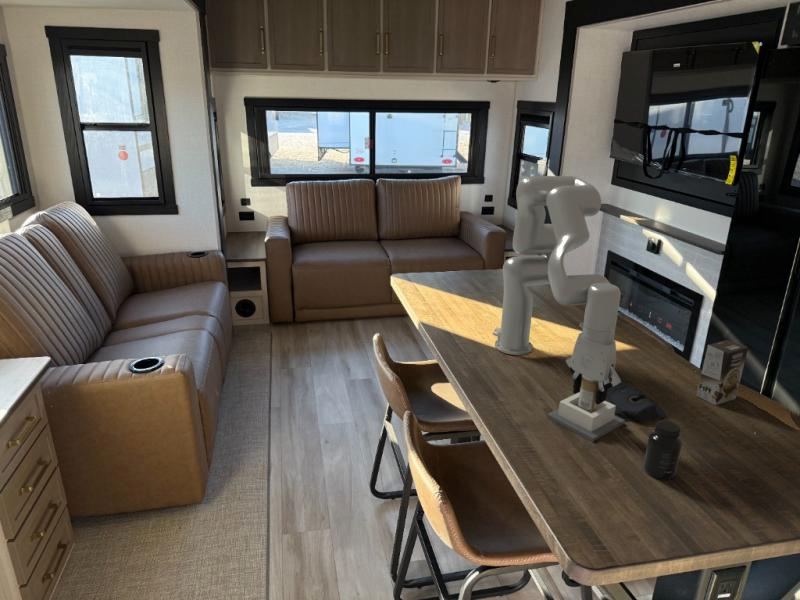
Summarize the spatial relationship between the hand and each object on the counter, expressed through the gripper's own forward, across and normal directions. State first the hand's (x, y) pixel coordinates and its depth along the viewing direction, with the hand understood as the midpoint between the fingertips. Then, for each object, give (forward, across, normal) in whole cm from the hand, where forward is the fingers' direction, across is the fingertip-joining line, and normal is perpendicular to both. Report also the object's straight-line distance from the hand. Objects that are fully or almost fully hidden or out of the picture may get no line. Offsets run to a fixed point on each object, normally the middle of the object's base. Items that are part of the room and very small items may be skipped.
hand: (588, 396), depth 147 cm
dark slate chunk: (+8, 0, +17) cm, 19 cm away
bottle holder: (+7, 0, 0) cm, 7 cm away
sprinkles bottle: (+6, 0, 0) cm, 6 cm away
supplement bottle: (+7, +23, -5) cm, 25 cm away
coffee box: (+7, +15, +41) cm, 44 cm away
